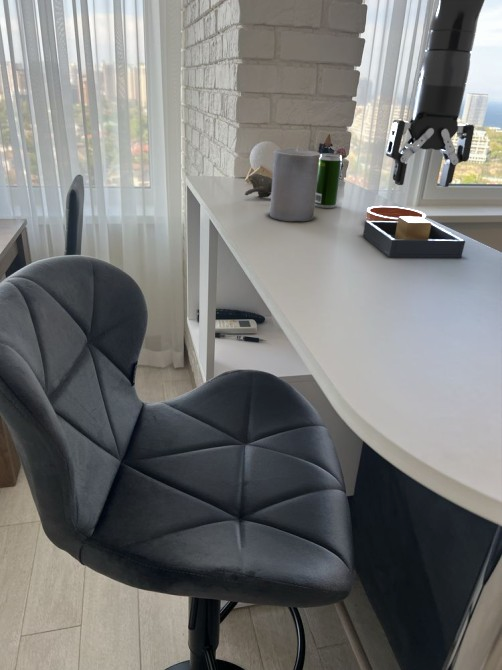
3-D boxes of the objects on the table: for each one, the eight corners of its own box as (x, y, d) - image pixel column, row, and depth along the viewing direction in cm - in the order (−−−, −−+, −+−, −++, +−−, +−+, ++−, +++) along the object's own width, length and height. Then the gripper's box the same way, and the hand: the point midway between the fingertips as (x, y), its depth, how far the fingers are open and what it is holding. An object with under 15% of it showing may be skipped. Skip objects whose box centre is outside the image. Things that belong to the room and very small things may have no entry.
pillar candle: (283, 209, 118) (289, 141, 111) (321, 217, 113) (329, 146, 106) (261, 216, 110) (265, 143, 104) (299, 224, 106) (307, 149, 99)
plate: (408, 220, 115) (410, 206, 114) (433, 234, 104) (436, 219, 103) (357, 219, 113) (359, 205, 112) (376, 233, 102) (379, 218, 101)
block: (416, 240, 97) (420, 216, 95) (426, 247, 93) (431, 222, 91) (394, 240, 96) (398, 216, 94) (403, 246, 92) (408, 222, 90)
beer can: (326, 209, 120) (332, 156, 115) (309, 205, 124) (314, 153, 119) (340, 207, 124) (346, 155, 119) (323, 202, 127) (328, 152, 122)
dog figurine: (290, 197, 131) (292, 168, 128) (292, 202, 126) (295, 171, 123) (244, 195, 131) (245, 165, 127) (244, 200, 125) (245, 169, 122)
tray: (427, 237, 102) (430, 221, 101) (461, 258, 90) (465, 240, 88) (362, 236, 100) (365, 220, 98) (389, 257, 88) (392, 240, 86)
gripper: (410, 80, 78) (391, 188, 85) (494, 86, 80) (469, 190, 87) (391, 81, 85) (375, 180, 92) (469, 86, 87) (448, 183, 94)
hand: (421, 185), depth 90 cm, fingers open, 8 cm apart
